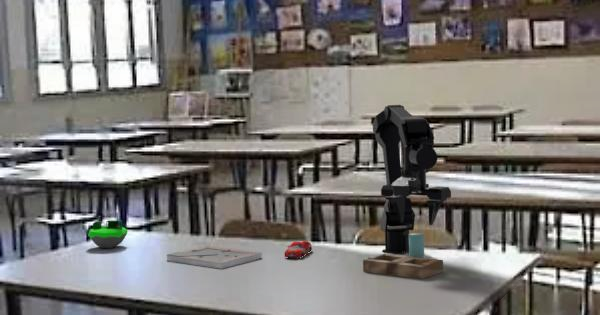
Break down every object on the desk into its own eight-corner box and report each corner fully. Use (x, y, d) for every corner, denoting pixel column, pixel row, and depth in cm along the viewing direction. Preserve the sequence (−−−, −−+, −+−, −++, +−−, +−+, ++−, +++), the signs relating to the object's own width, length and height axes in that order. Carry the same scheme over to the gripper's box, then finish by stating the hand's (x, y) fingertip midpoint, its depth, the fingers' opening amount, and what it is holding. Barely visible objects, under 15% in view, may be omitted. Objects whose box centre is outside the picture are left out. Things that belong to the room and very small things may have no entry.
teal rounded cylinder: (406, 264, 254) (405, 234, 253) (414, 261, 257) (413, 232, 257) (419, 265, 252) (418, 236, 251) (427, 263, 255) (426, 233, 254)
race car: (300, 260, 265) (299, 246, 265) (282, 260, 267) (281, 246, 267) (314, 251, 278) (314, 238, 277) (297, 251, 279) (296, 237, 279)
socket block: (363, 271, 247) (362, 258, 247) (384, 264, 255) (384, 252, 255) (422, 278, 236) (422, 265, 236) (443, 271, 244) (442, 258, 243)
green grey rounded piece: (131, 244, 300) (130, 209, 299) (121, 250, 288) (120, 214, 287) (94, 244, 301) (93, 210, 300) (82, 250, 289) (81, 215, 289)
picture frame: (167, 262, 271) (221, 271, 257) (166, 254, 270) (221, 262, 257) (208, 253, 283) (262, 260, 269) (207, 244, 283) (261, 251, 269)
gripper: (368, 167, 252) (370, 225, 253) (429, 170, 240) (430, 231, 241) (391, 163, 260) (393, 219, 262) (451, 165, 249) (452, 224, 250)
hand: (416, 223), depth 254 cm, fingers open, 9 cm apart
